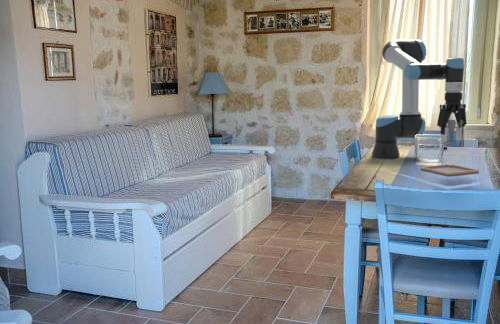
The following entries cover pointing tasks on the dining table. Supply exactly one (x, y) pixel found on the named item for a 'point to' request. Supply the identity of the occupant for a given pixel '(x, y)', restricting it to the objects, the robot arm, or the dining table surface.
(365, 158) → the dining table surface
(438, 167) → the wooden square frame
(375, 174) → the dining table surface
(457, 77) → the robot arm
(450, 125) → the mechanical component
